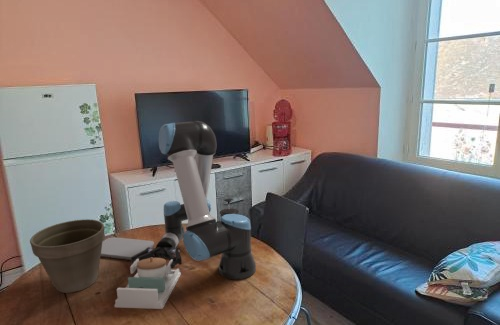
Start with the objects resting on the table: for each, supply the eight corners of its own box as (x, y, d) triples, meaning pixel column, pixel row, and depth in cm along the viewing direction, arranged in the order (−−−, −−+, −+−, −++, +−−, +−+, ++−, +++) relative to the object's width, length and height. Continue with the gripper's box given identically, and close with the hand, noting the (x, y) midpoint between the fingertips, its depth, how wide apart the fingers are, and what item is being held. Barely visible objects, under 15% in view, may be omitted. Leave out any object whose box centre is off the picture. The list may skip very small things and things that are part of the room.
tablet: (110, 241, 170) (109, 236, 169) (156, 245, 164) (156, 241, 163) (87, 256, 155) (87, 251, 154) (138, 262, 148) (137, 257, 148)
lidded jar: (158, 288, 122) (158, 263, 122) (131, 286, 125) (131, 261, 124) (171, 277, 133) (170, 254, 133) (146, 276, 135) (145, 252, 135)
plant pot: (23, 302, 121) (13, 246, 116) (61, 266, 145) (54, 219, 140) (93, 301, 121) (85, 245, 116) (119, 265, 145) (114, 218, 140)
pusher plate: (130, 289, 125) (128, 277, 124) (165, 290, 124) (164, 278, 123) (129, 290, 124) (127, 278, 123) (164, 291, 123) (163, 279, 122)
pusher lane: (140, 273, 138) (138, 257, 137) (180, 274, 137) (179, 258, 135) (114, 307, 117) (112, 289, 116) (162, 309, 116) (160, 290, 114)
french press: (243, 241, 165) (241, 196, 160) (239, 250, 156) (238, 203, 151) (219, 240, 167) (217, 195, 162) (214, 249, 158) (212, 202, 153)
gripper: (196, 253, 146) (182, 280, 125) (140, 252, 148) (117, 279, 128) (195, 237, 144) (181, 262, 124) (138, 236, 147) (115, 261, 126)
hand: (148, 271), depth 126 cm, fingers open, 13 cm apart
